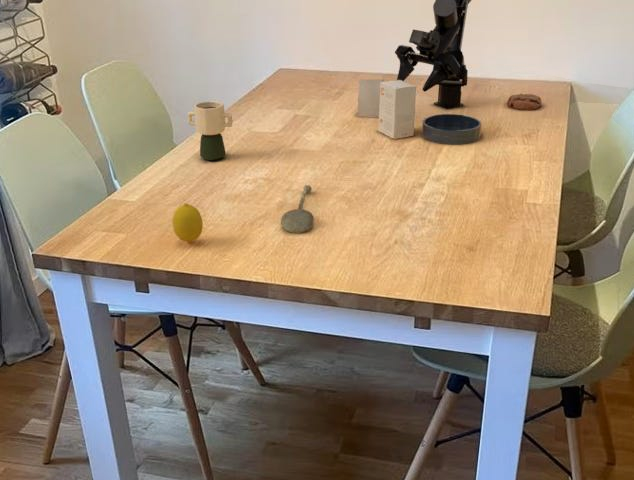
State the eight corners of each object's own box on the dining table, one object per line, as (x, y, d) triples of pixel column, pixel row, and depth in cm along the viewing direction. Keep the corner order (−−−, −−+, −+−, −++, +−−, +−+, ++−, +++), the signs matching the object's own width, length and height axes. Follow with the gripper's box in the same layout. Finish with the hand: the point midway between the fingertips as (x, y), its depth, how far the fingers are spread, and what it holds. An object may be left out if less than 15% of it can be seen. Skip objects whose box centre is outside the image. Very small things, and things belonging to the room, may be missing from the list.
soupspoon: (278, 235, 151) (311, 238, 150) (278, 220, 149) (311, 222, 149) (293, 190, 169) (323, 193, 169) (293, 176, 167) (323, 178, 167)
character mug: (238, 154, 191) (235, 101, 184) (230, 164, 185) (227, 109, 178) (196, 152, 193) (191, 100, 186) (187, 161, 187) (182, 108, 180)
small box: (414, 136, 203) (416, 85, 196) (393, 139, 200) (395, 88, 193) (398, 128, 209) (400, 79, 202) (377, 131, 206) (379, 81, 200)
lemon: (176, 237, 149) (171, 198, 145) (204, 236, 149) (201, 197, 145) (174, 249, 144) (169, 210, 140) (203, 248, 145) (199, 208, 140)
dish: (410, 133, 205) (410, 120, 203) (453, 123, 212) (454, 111, 210) (448, 148, 194) (449, 134, 192) (492, 137, 201) (493, 124, 199)
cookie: (546, 103, 228) (548, 93, 227) (534, 112, 221) (536, 101, 219) (514, 99, 233) (515, 89, 231) (501, 107, 225) (502, 97, 224)
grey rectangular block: (381, 117, 218) (382, 81, 212) (357, 116, 219) (358, 80, 214) (383, 113, 221) (384, 78, 216) (359, 112, 222) (360, 77, 217)
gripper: (401, 12, 202) (370, 62, 201) (456, 21, 190) (423, 74, 189) (419, 40, 210) (390, 88, 210) (473, 50, 198) (442, 101, 197)
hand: (410, 87), depth 201 cm, fingers open, 9 cm apart
